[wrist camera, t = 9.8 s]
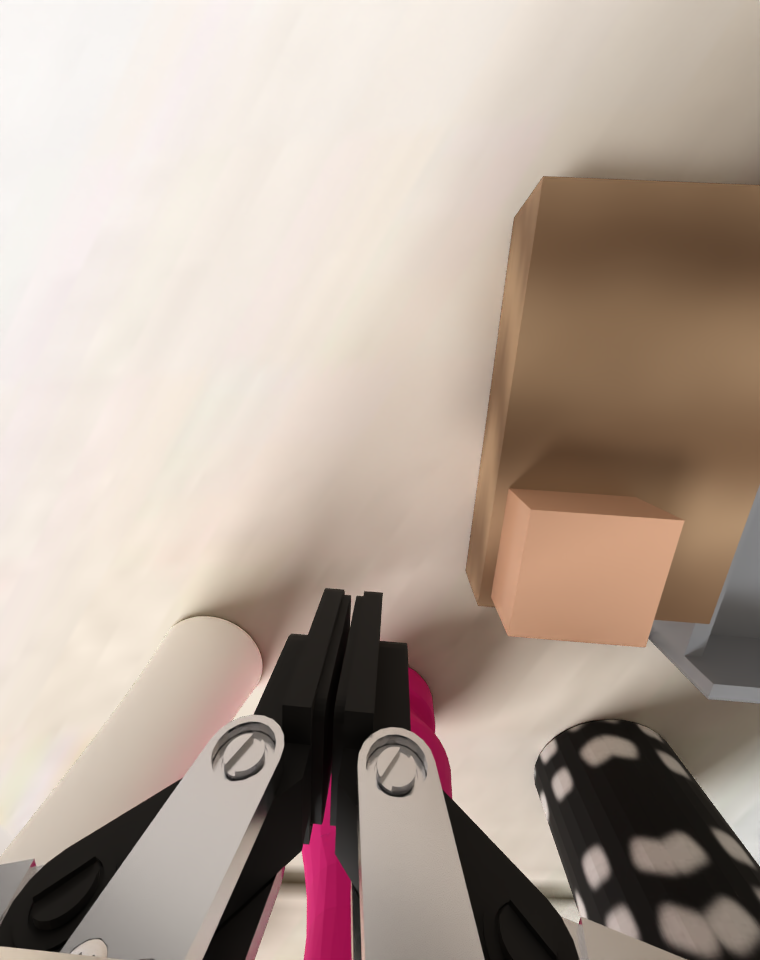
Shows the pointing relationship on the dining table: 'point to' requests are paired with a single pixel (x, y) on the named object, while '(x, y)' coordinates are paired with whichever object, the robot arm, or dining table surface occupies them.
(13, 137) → the dining table surface
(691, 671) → the box
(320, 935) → the pepper mill
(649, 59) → the dining table surface
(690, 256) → the board
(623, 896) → the spotted tube
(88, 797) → the cosmetic bottle
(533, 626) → the tile
